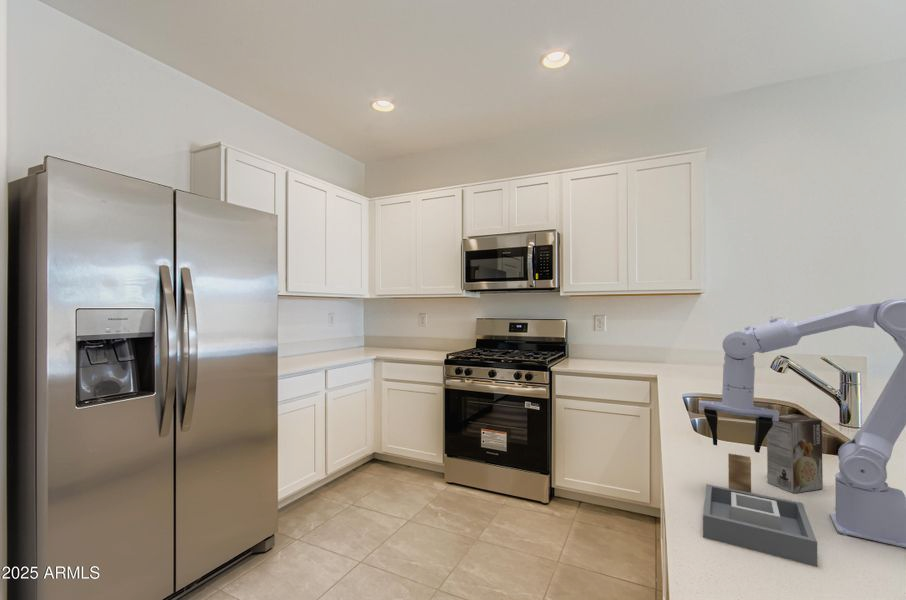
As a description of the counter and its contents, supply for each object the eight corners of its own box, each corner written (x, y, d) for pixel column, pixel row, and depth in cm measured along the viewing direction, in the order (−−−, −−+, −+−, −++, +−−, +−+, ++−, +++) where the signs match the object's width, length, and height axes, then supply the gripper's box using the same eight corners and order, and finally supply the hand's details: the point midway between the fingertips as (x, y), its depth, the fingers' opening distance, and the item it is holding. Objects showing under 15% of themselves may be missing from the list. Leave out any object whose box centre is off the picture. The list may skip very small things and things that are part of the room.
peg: (750, 497, 93) (750, 456, 93) (751, 504, 90) (750, 462, 90) (728, 493, 95) (728, 453, 96) (728, 500, 92) (728, 458, 92)
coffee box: (794, 478, 104) (794, 412, 104) (823, 489, 97) (823, 419, 98) (766, 482, 101) (765, 415, 101) (793, 494, 95) (793, 422, 95)
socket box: (802, 523, 82) (802, 497, 82) (817, 566, 69) (817, 535, 69) (706, 502, 91) (706, 479, 91) (703, 537, 78) (703, 509, 78)
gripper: (775, 387, 93) (773, 448, 93) (699, 378, 100) (697, 435, 100) (782, 393, 87) (779, 459, 87) (700, 384, 94) (697, 444, 94)
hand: (735, 447), depth 93 cm, fingers open, 7 cm apart
